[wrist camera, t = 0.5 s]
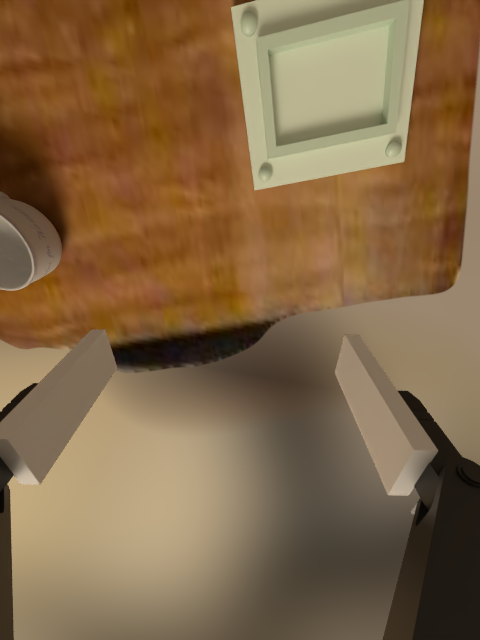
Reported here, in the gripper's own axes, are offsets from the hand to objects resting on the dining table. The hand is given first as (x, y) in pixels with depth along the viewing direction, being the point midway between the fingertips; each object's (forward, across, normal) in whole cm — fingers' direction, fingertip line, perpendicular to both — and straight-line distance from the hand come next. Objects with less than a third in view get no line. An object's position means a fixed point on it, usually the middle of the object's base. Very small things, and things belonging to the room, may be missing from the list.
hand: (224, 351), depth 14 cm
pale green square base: (+26, +10, +16) cm, 32 cm away
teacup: (+26, -30, +2) cm, 40 cm away
